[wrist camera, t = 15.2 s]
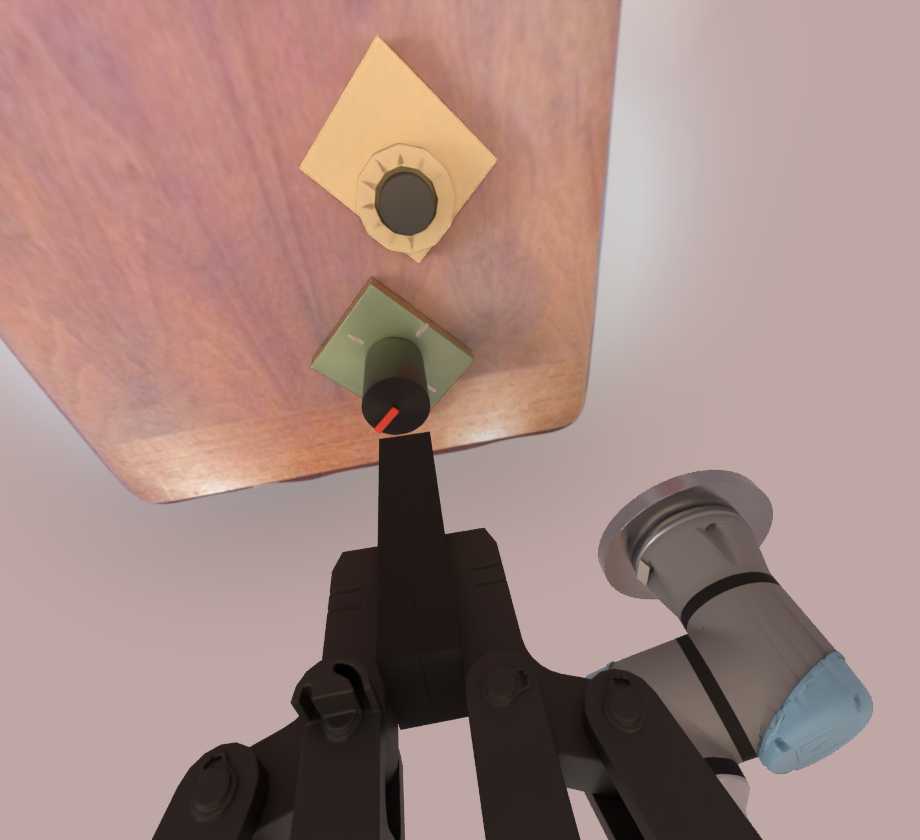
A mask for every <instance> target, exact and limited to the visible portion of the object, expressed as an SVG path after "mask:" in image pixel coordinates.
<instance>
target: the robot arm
mask: <svg viewBox="0 0 920 840" xmlns="http://www.w3.org/2000/svg"><path fill="white" fill-rule="evenodd" d="M633 567H634V570H635V572H636V573H637V579H638V580H640V581H641V582H642V583H643V584H644V586H645V587H646V588H647V589H648V590H649V591H650V592H651V593H652V594H654V595H655V596H656V597H657V598H658V599H659V600H660V601H661V602H662V603H663V604H664V605H665V606H666V607H667V608H669V609H670V610H671V611H672V612H673V613H674V614H675V615H676V616H677V617H678V618H679V620H680V621H681V623H682V624H683V626H684V628H685V629H686V631H687V633H688V634H686V635H684V636H681V637H679V638H676V639H674V640H671V641H669V642H666V643H663V644H661V645H658V646H656V647H653V648H651V649H648V650H646V651H643V652H640V653H638V654H635V655H632V656H630V657H627V658H625V659H622V660H620V661H617V662H610V663H609V664H607V666H606V667H604V668H602V669H600V670H598V671H596V672H594V673H591V674H589V675H587V676H586V677H585V678H582V677H576V676H571V675H565V674H560V673H557V672H554V671H551V670H549V669H547V668H545V667H543V666H542V665H540V664H539V663H538V662H537V661H536V660H535V659H534V658H532V656H531V655H530V653H529V652H528V651H527V649H526V647H525V645H524V642H523V640H522V637H521V633H520V629H519V625H518V622H517V618H516V615H515V610H514V607H513V603H512V599H511V595H510V591H509V588H508V584H507V581H506V577H505V573H504V569H503V565H502V562H501V558H500V554H499V550H498V546H497V543H496V541H495V540H494V539H493V538H492V537H491V536H490V534H489V533H488V532H487V531H486V529H485V528H481V529H474V530H468V531H462V532H455V533H450V534H445V532H444V525H443V519H442V512H441V505H440V498H439V491H438V484H437V477H436V471H435V464H434V457H433V450H432V443H431V436H430V432H424V433H418V434H411V435H404V436H397V437H390V438H384V439H379V496H378V546H377V547H371V548H365V549H359V550H353V551H347V552H343V553H342V554H341V556H340V558H339V560H338V562H337V564H336V565H335V567H334V569H333V571H332V577H331V586H330V596H329V604H328V613H327V621H326V630H325V639H324V647H323V656H322V661H320V662H319V663H317V664H316V665H314V666H313V667H312V668H311V669H309V670H308V671H307V672H306V673H305V674H304V676H303V677H302V679H301V680H300V682H299V683H298V684H297V686H296V688H295V691H294V694H293V697H292V700H291V704H292V706H293V707H294V709H295V710H296V712H297V713H298V715H299V717H298V718H297V719H296V720H295V721H293V722H292V723H290V724H289V725H287V726H286V727H284V728H283V729H281V730H279V731H278V732H276V733H274V734H273V735H270V736H269V737H267V738H265V739H263V740H261V741H260V742H258V743H256V744H254V745H252V746H251V747H247V746H245V745H242V744H239V743H237V742H236V743H229V744H223V745H220V746H218V747H216V748H214V749H213V750H210V751H209V752H207V753H205V754H204V755H203V756H202V757H201V758H200V759H199V760H198V761H197V762H196V763H195V764H194V765H192V766H191V767H190V769H189V770H188V772H187V773H186V775H185V776H184V778H183V779H182V781H181V783H180V784H179V786H178V787H177V789H176V791H175V793H174V796H173V797H172V800H171V802H170V804H169V806H168V808H167V810H166V812H165V814H164V816H163V818H162V820H161V822H160V824H159V826H158V828H157V830H156V832H155V834H154V836H153V838H152V840H405V828H404V827H405V825H404V794H403V765H402V760H401V755H400V751H399V749H398V724H399V727H400V729H401V730H402V729H407V728H413V727H418V726H423V725H428V724H432V723H438V722H443V721H448V720H454V719H459V718H463V717H469V723H470V729H471V737H472V743H473V750H474V758H475V766H476V773H477V780H478V787H479V793H480V794H479V795H480V802H481V809H482V816H483V823H484V830H485V838H486V840H580V837H579V833H578V829H577V826H576V822H575V818H574V814H573V811H572V807H571V803H570V800H569V796H568V792H567V788H571V789H576V790H580V791H584V792H585V794H586V796H587V798H588V800H589V802H590V804H591V806H592V808H593V810H594V812H595V814H596V816H597V818H598V820H599V822H600V824H601V826H602V828H603V830H604V832H605V834H606V836H607V838H608V840H762V838H761V837H760V836H759V834H758V833H757V831H756V830H755V829H754V827H753V826H752V825H751V823H750V822H749V820H748V818H747V814H746V805H747V801H748V796H749V791H750V787H749V784H748V782H747V780H746V778H745V777H744V775H743V773H742V771H741V769H740V768H739V766H738V764H740V763H742V762H744V761H747V760H750V759H753V758H756V757H759V758H760V760H761V762H762V764H763V765H765V766H766V767H767V768H768V769H769V770H770V771H772V772H773V773H776V774H785V773H788V772H790V771H793V770H799V769H802V768H805V767H807V766H809V765H811V764H814V763H816V762H817V761H819V760H821V759H823V758H825V757H827V756H828V755H830V754H832V753H833V752H835V751H836V750H838V749H839V748H841V747H842V746H844V745H845V744H847V743H848V742H849V741H850V740H852V739H853V738H854V737H855V736H856V735H857V734H858V733H859V732H861V731H862V729H863V728H864V727H865V726H866V724H867V723H868V722H869V720H870V718H871V716H872V712H873V702H872V699H871V696H870V694H869V692H868V691H867V689H866V688H865V687H864V685H863V684H862V683H861V681H860V680H859V679H858V678H857V676H856V675H855V674H854V672H853V671H852V670H851V668H850V667H849V666H848V665H847V664H846V662H845V658H844V657H843V655H842V654H841V653H839V652H838V651H836V650H835V649H834V647H833V646H832V645H831V644H830V643H829V642H828V640H827V639H826V638H825V637H824V636H823V635H822V633H821V632H820V631H819V630H818V629H817V628H816V626H815V625H814V624H813V623H812V622H811V621H810V619H809V618H808V617H807V616H806V615H805V614H804V612H803V611H802V610H801V609H800V608H799V607H798V605H797V604H796V603H795V602H794V601H793V600H792V598H791V597H790V596H789V595H788V594H787V593H786V591H784V589H783V588H782V587H781V586H780V584H779V583H778V582H777V581H776V580H775V579H774V577H773V576H772V575H771V574H770V572H769V570H768V568H767V565H766V563H765V560H764V558H763V556H762V553H761V551H760V548H759V546H758V543H757V541H756V538H755V536H754V534H753V531H752V530H751V528H750V526H749V525H748V523H747V522H746V521H745V520H744V519H743V518H742V516H741V515H740V514H739V513H738V512H736V511H735V510H733V509H731V508H728V507H724V506H715V505H711V506H701V507H696V508H692V509H689V510H686V511H683V512H680V513H678V514H676V515H674V516H672V517H670V518H668V519H666V520H664V521H663V522H661V523H660V524H658V525H657V526H656V527H654V528H653V529H652V530H651V531H650V532H649V533H648V534H647V535H646V536H645V537H644V538H643V539H642V540H641V542H640V543H639V545H638V546H637V548H636V550H635V552H634V556H633ZM566 787H567V788H566Z"/></svg>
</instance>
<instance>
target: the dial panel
mask: <svg viewBox="0 0 920 840" xmlns="http://www.w3.org/2000/svg"><path fill="white" fill-rule="evenodd" d="M392 337H395V338H402V339H405V340H408V341H410V342H411V343H413V344H414V345H415V346H416V347H417V348H418V349H419V350H420V352H421V354H422V357H423V361H424V367H425V374H426V380H427V386H428V392H429V398H430V410H431V409H432V408H433V406H434V405H435V404H436V403H437V402H438V401H439V400H440V399H441V398H442V396H443V395H444V394H445V393H446V392H447V391H448V390H449V389H450V388H451V386H452V385H453V384H454V383H455V382H456V381H457V380H458V379H459V378H460V376H461V375H462V374H463V373H464V372H465V371H466V370H467V369H468V368H469V366H470V365H471V364H472V363H473V362H474V361H475V358H474V356H473V353H472V351H471V350H470V349H469V348H467V347H466V346H465V345H463V344H462V343H461V342H459V341H458V340H457V339H455V338H454V337H452V336H451V335H450V334H448V333H447V332H446V331H444V330H443V329H442V328H440V327H439V326H438V325H436V324H435V323H434V322H432V321H431V320H429V319H428V318H427V317H425V316H424V315H423V314H421V313H420V312H419V311H417V310H416V309H415V308H413V307H412V306H410V305H409V304H408V303H406V302H405V301H404V300H402V299H401V298H400V297H398V296H397V295H396V294H394V293H393V292H391V291H390V290H389V289H387V288H386V287H385V286H383V285H382V284H381V283H379V282H378V281H377V280H375V279H374V278H373V277H371V278H370V279H369V280H368V282H367V283H366V284H365V286H364V287H363V289H362V290H361V291H360V293H359V294H358V296H357V297H356V298H355V300H354V301H353V303H352V304H351V305H350V307H349V308H348V309H347V311H346V312H345V314H344V315H343V316H342V318H341V319H340V321H339V322H338V323H337V325H336V326H335V328H334V329H333V330H332V332H331V333H330V335H329V336H328V337H327V339H326V340H325V341H324V343H323V344H322V346H321V347H320V348H319V350H318V351H317V353H316V354H315V355H314V357H313V360H312V363H311V366H310V368H312V369H313V370H315V371H317V372H319V373H320V374H322V375H324V376H325V377H327V378H329V379H331V380H332V381H334V382H336V383H337V384H339V385H341V386H343V387H344V388H346V389H348V390H349V391H351V392H353V393H355V394H356V395H358V396H360V397H361V398H362V395H363V382H364V369H365V359H366V355H367V353H368V351H369V350H370V348H371V347H372V346H373V345H374V344H375V343H377V342H378V341H380V340H383V339H386V338H392Z"/></svg>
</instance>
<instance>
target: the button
mask: <svg viewBox="0 0 920 840" xmlns="http://www.w3.org/2000/svg"><path fill="white" fill-rule="evenodd" d="M379 209H380V213H381V216H382V218H383V220H384V222H385V223H386V224H387V225H388V227H390V228H391V229H392V230H393V231H395V232H397V233H399V234H403V235H414V234H417V233H419V232H421V231H423V230H424V229H425V228H426V227H427V226H428V225H429V224H430V222H431V220H432V218H433V216H434V211H435V200H434V196H433V193H432V191H431V189H430V187H429V186H428V184H427V183H426V182H425V181H424V180H423V179H422V178H421V177H420V176H418V175H417V174H414V173H412V172H406V171H405V172H398V173H395V174H393V175H391V176H390V177H389V178H388V179H387V180H386V181H385V182H384V184H383V186H382V188H381V191H380V195H379Z"/></svg>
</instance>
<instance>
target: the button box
mask: <svg viewBox="0 0 920 840" xmlns="http://www.w3.org/2000/svg"><path fill="white" fill-rule="evenodd" d="M496 162H497V158H496V157H495V156H494V155H493V154H492V153H491V152H490V151H489V150H488V149H487V148H486V147H485V146H484V145H483V144H482V142H481V141H480V140H479V139H478V138H477V137H476V136H475V135H474V134H473V133H472V132H471V131H470V130H469V129H468V128H467V127H466V126H465V125H464V124H463V123H462V122H461V121H460V120H459V119H458V118H457V117H456V116H455V114H454V113H453V112H452V111H451V110H450V109H449V108H448V107H447V106H446V105H445V104H444V103H443V102H442V101H441V100H440V99H439V98H438V97H437V96H436V95H435V94H434V93H433V92H432V91H431V90H430V89H429V88H428V86H427V85H426V84H425V83H424V82H423V81H422V80H421V79H420V78H419V77H418V76H417V75H416V74H415V73H414V72H413V71H412V70H411V69H410V68H409V67H408V66H407V65H406V64H405V63H404V62H403V61H402V60H401V58H400V57H399V56H398V55H397V54H396V53H395V52H394V51H393V50H392V49H391V48H390V47H389V46H388V45H387V44H386V43H385V42H384V41H383V40H382V39H381V38H380V37H379V36H378V35H377V36H376V37H375V39H374V40H373V42H372V44H371V46H370V47H369V49H368V51H367V52H366V54H365V56H364V58H363V59H362V61H361V63H360V64H359V66H358V68H357V70H356V71H355V73H354V75H353V76H352V78H351V80H350V81H349V83H348V85H347V87H346V88H345V90H344V92H343V93H342V95H341V97H340V99H339V100H338V102H337V104H336V105H335V107H334V109H333V111H332V112H331V114H330V116H329V117H328V119H327V121H326V123H325V124H324V126H323V128H322V129H321V131H320V133H319V135H318V136H317V138H316V140H315V141H314V143H313V145H312V147H311V148H310V150H309V152H308V153H307V155H306V157H305V158H304V160H303V162H302V164H301V165H300V167H299V168H300V170H302V171H303V172H304V173H305V174H307V175H308V176H309V177H310V178H312V179H313V180H314V181H315V182H317V183H318V184H319V185H320V186H322V187H323V188H324V189H325V190H327V191H328V192H329V193H330V194H332V195H333V196H334V197H335V198H337V199H338V200H339V201H340V202H342V203H343V204H344V205H345V206H347V207H348V208H349V209H350V210H352V211H353V212H354V213H355V214H357V215H358V216H359V217H360V218H361V220H362V222H363V224H364V226H365V229H366V231H367V233H368V234H369V235H370V236H371V237H372V238H374V239H375V240H376V241H378V242H379V243H380V244H381V245H383V246H384V247H385V248H386V249H388V250H390V251H396V252H403V253H406V254H407V255H408V256H409V257H411V258H412V259H413V260H414V261H416V262H417V263H418V264H419V263H420V262H421V261H422V259H423V258H424V257H425V255H426V254H427V253H428V252H429V250H430V249H431V248H432V246H434V245H436V244H437V243H438V242H439V240H440V239H441V238H442V236H443V235H444V234H445V232H446V231H447V230H448V228H449V227H450V226H451V223H452V220H453V219H454V217H455V216H456V215H457V213H458V212H459V211H460V209H461V208H462V207H463V205H464V204H465V203H466V201H467V200H468V199H469V197H470V196H471V195H472V193H473V192H474V191H475V190H476V188H477V187H478V186H479V184H480V183H481V182H482V180H483V179H484V178H485V176H486V175H487V174H488V172H489V171H490V170H491V168H492V167H493V166H494V164H495V163H496ZM405 171H406V172H412V173H414V174H417V175H418V176H420V177H421V178H422V179H423V180H424V181H425V182H426V183H427V184H428V186H429V187H430V189H431V191H432V193H433V196H434V200H435V211H434V216H433V218H432V220H431V222H430V224H429V225H428V226H427V227H426V228H425V229H424V230H423V231H421V232H419V233H417V234H414V235H403V234H399V233H397V232H395V231H393V230H392V229H391V228H390V227H388V225H387V224H386V223H385V222H384V220H383V218H382V216H381V213H380V209H379V195H380V191H381V188H382V186H383V184H384V182H385V181H386V180H387V179H388V178H389V177H390V176H391V175H393V174H395V173H398V172H405Z"/></svg>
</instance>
